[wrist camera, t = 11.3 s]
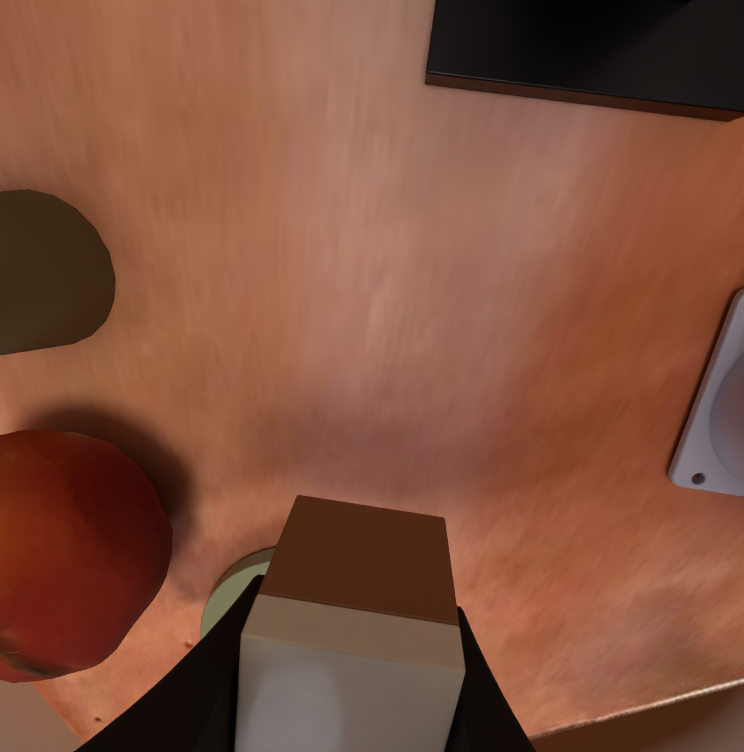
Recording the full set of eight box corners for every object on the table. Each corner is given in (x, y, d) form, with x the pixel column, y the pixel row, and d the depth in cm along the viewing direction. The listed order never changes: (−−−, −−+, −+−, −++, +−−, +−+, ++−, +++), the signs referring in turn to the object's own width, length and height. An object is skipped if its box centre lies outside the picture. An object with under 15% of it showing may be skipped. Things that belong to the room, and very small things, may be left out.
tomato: (-18, 403, 20) (-273, 509, 13) (183, 400, 19) (41, 510, 12) (37, 576, 23) (-144, 747, 15) (215, 579, 22) (116, 761, 15)
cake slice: (445, 516, 12) (466, 672, 8) (414, 657, 14) (418, 850, 10) (297, 493, 12) (239, 635, 8) (283, 635, 14) (229, 817, 10)
